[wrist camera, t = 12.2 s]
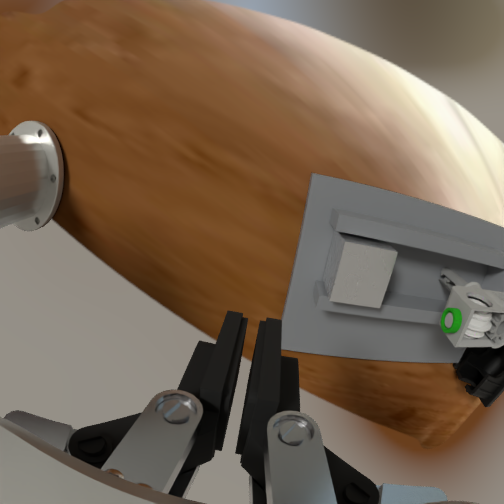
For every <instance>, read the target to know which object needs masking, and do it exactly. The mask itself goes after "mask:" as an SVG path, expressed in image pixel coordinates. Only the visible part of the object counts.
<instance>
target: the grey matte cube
mask: <svg viewBox="0 0 504 504" xmlns="http://www.w3.org/2000/svg"><path fill="white" fill-rule="evenodd" d="M397 254H398V252H397V251H396V250H395V249H394V248H393V247H392V246H390V245H389V244H388V243H387V242H386V241H383V240H378V239H374V238H369V237H364V236H359V235H354V234H349V233H344V232H339V231H335V229H334V234H333V238H332V243H331V247H330V251H329V255H328V260H327V264H326V268H325V272H324V276H323V281H324V285H325V288H326V291H327V294H328V298H329V301H333V302H340V303H346V304H353V305H360V306H367V307H374V308H380V306H381V304H382V301H383V298H384V295H385V292H386V289H387V286H388V283H389V280H390V277H391V274H392V270H393V267H394V264H395V261H396V257H397Z"/></svg>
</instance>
